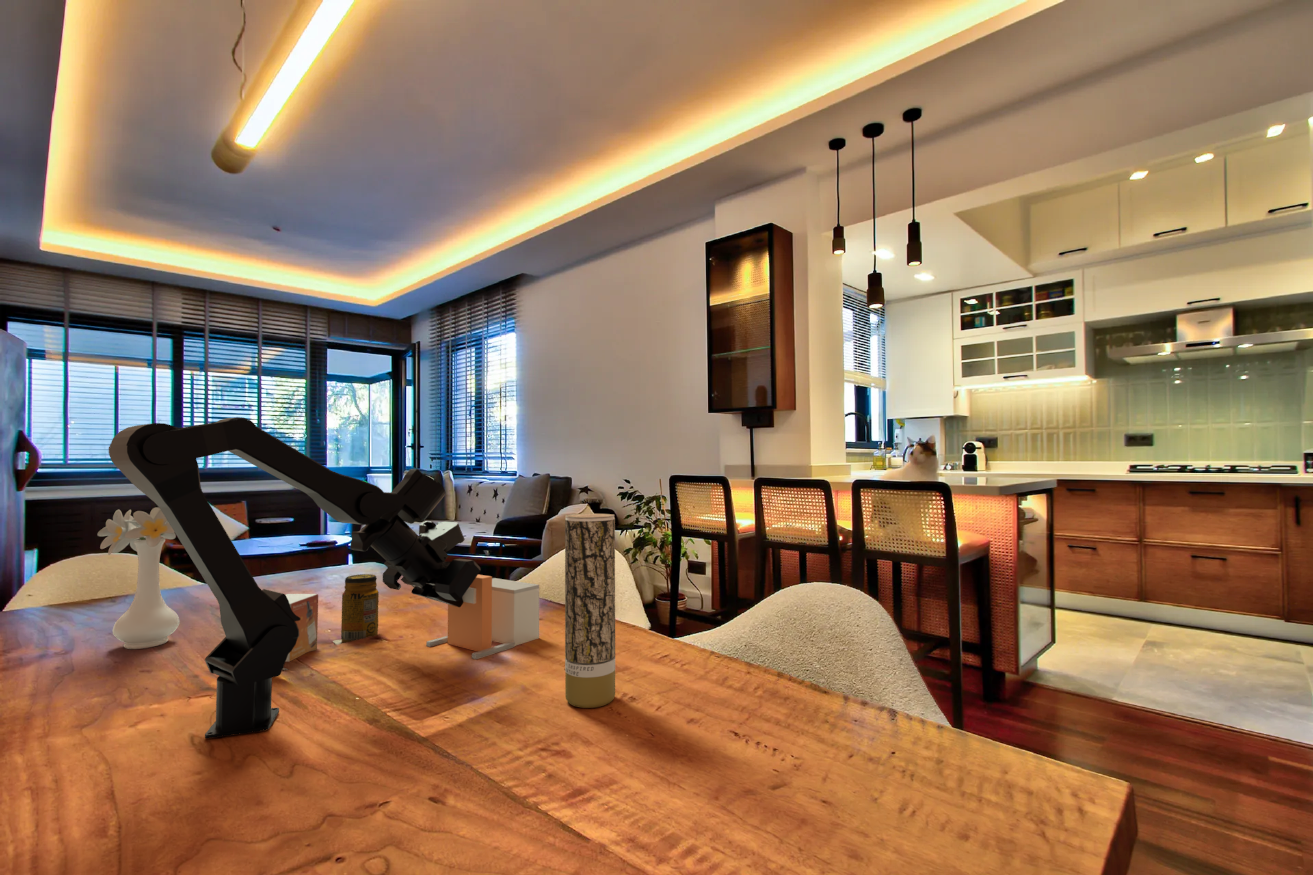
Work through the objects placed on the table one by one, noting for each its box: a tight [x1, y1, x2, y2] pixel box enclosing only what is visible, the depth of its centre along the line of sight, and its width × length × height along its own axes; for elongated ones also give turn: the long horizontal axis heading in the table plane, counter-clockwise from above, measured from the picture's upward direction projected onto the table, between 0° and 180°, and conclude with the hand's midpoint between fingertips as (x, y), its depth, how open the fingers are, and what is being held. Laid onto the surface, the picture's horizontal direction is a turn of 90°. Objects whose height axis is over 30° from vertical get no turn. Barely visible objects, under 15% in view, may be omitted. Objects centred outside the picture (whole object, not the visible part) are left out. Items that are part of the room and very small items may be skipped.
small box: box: [282, 593, 319, 671], centre depth 100 cm, size 8×6×10 cm
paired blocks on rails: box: [425, 577, 540, 660], centre depth 104 cm, size 20×14×11 cm
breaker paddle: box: [447, 574, 493, 652], centre depth 103 cm, size 2×9×12 cm, turn 55°
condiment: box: [332, 573, 380, 646], centre depth 111 cm, size 7×8×12 cm
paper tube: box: [564, 513, 616, 709], centre depth 84 cm, size 7×7×25 cm
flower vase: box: [97, 507, 181, 650], centre depth 111 cm, size 13×18×25 cm
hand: (460, 604), depth 102 cm, fingers closed, pressing on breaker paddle
